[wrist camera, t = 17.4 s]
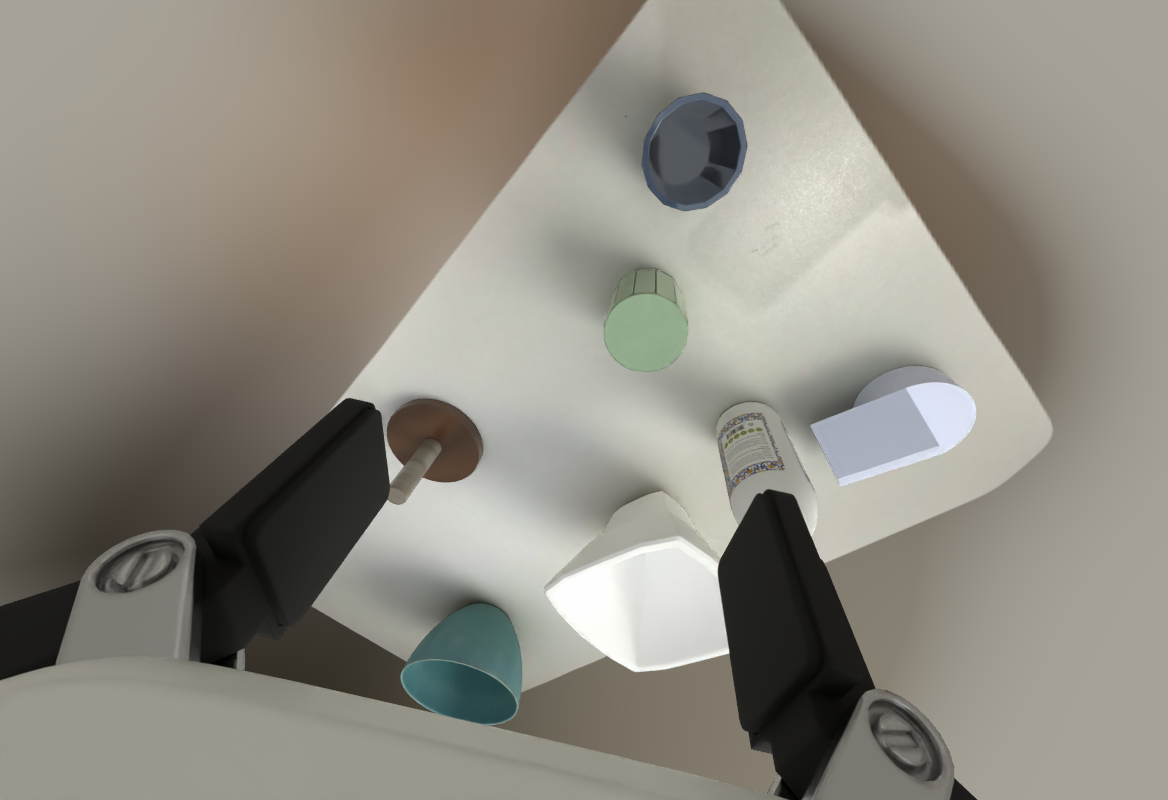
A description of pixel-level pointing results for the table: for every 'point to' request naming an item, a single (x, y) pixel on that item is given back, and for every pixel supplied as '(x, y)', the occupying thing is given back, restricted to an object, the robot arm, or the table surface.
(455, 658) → the plant pot
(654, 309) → the green cup
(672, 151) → the blue cup
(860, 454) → the wedge on round base
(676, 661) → the bowl
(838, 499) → the table surface
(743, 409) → the bath foam
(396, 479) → the disc
